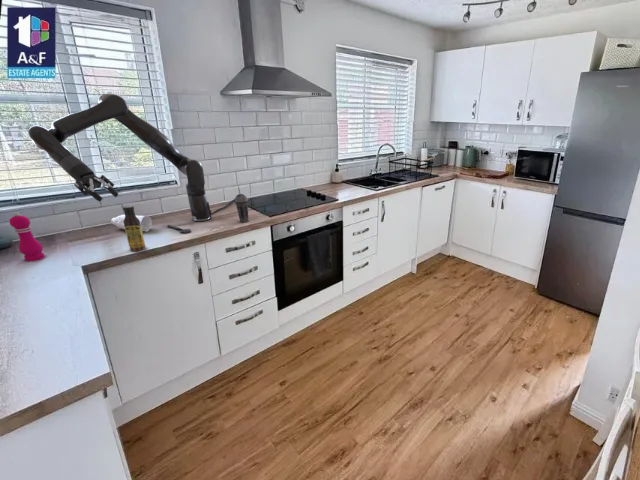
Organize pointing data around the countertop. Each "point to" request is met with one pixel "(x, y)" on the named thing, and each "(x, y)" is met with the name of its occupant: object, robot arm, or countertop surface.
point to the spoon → (180, 229)
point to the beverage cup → (242, 207)
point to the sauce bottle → (133, 229)
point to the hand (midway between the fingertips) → (109, 197)
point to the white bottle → (144, 220)
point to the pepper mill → (26, 238)
